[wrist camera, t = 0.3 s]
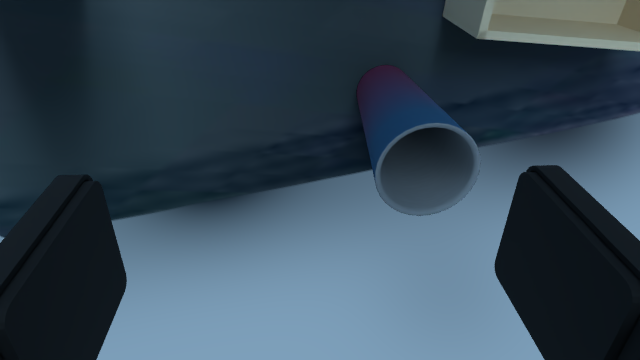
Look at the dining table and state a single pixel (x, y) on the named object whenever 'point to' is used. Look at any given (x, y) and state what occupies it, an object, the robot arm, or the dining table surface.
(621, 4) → the carton
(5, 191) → the dining table surface
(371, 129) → the cup
